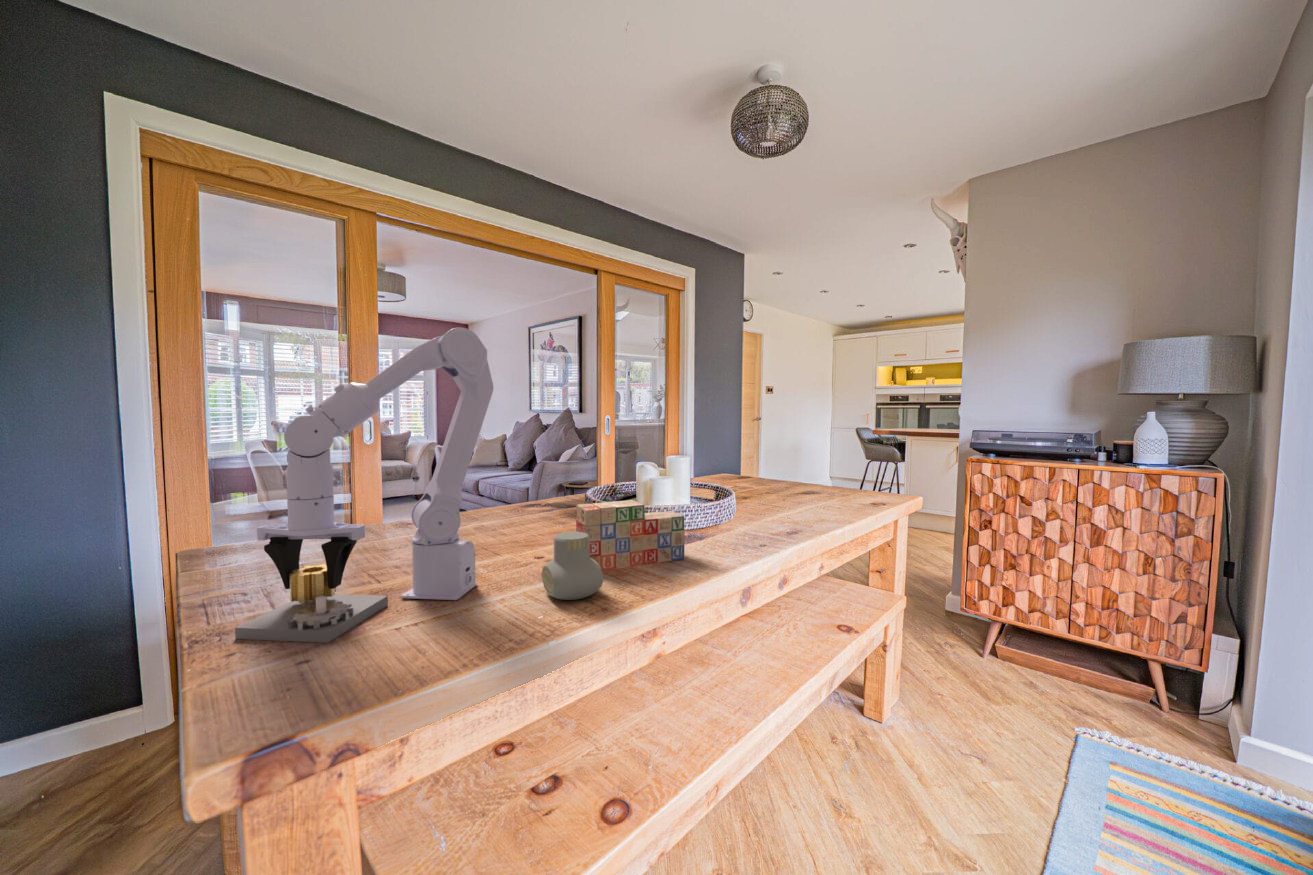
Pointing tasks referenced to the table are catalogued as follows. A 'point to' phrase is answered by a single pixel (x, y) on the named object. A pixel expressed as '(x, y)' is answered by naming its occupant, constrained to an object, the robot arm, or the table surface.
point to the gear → (320, 616)
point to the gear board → (278, 628)
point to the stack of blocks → (630, 534)
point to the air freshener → (572, 568)
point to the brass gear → (309, 583)
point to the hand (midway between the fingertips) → (313, 586)
